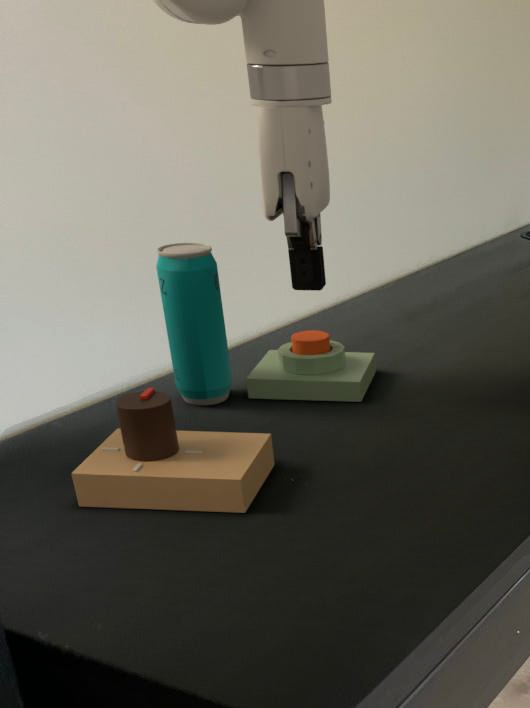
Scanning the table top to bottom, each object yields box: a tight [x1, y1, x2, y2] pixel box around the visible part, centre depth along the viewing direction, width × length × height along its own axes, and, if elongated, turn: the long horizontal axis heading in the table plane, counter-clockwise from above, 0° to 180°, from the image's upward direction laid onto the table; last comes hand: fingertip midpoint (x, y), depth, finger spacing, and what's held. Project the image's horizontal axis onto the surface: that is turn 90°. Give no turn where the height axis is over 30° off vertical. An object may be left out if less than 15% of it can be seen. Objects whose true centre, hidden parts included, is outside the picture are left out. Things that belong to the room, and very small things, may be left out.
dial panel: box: [71, 428, 275, 514], centre depth 85 cm, size 14×10×3 cm
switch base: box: [245, 339, 377, 403], centre depth 107 cm, size 12×10×4 cm
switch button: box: [290, 330, 331, 355], centre depth 105 cm, size 4×4×2 cm
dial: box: [114, 387, 179, 461], centre depth 83 cm, size 4×4×5 cm
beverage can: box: [155, 242, 233, 406], centre depth 100 cm, size 6×6×15 cm
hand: (309, 287), depth 102 cm, fingers closed
